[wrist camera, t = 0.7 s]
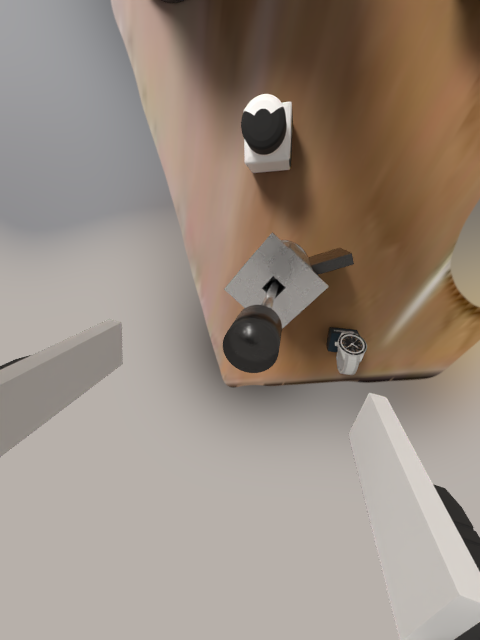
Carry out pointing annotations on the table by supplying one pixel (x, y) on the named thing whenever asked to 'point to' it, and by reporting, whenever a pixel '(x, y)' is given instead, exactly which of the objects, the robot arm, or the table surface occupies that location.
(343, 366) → the watch
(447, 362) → the table surface
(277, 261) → the press
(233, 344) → the plunger
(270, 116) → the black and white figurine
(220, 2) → the table surface
